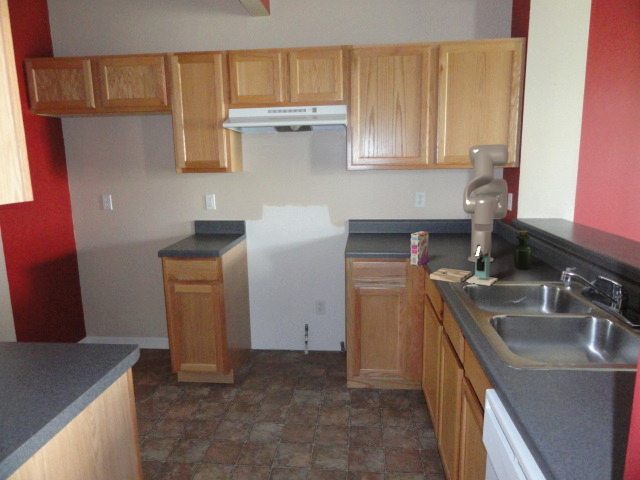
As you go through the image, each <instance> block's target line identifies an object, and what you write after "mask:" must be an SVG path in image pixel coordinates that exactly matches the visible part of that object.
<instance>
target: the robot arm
mask: <svg viewBox="0 0 640 480" xmlns="http://www.w3.org/2000/svg"><path fill="white" fill-rule="evenodd" d="M468 157H469V160H470V163H471V166H472V168H473V178H472V179H471V180H470V181H469V182H468V183H467V184H466V186H465V188H464V190H463V194H462V198H463V199H462V207H463V208H462V209H463V211H464V212H465V213H466V214H468V215H469V214H470V219H471V237H470V238H471V241H470V242H471V245H470V250H471V251H470V256H468V258H467V261H469V262H471V263H476V261H477V264H476V270H478V271H484V263H485V262H484V255H486V256H490V263H491V262H493V261H494V257H491V250H492V232H493V231H494V220H499V219H504V218H506V216H507V213H508V193H509V192H508V191H509V190H508V182H507V181H506V179H504V178H495V167H505V166H507V165H508V162H509V151H508V147H507V145H506V144H501V143H499V144H498V143H497V144H480V145H474V146H471V147H470V148H469V149H468ZM472 192H473V195H474V196H470V195H471V193H472ZM481 256H482V257H481ZM476 258H477V259H476Z"/></svg>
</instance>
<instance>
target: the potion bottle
mask: <svg viewBox="0 0 640 480" xmlns="http://www.w3.org/2000/svg"><path fill="white" fill-rule="evenodd" d="M528 232H529V231H528V230H518V234H519V235H516V238H515V239H517V240H518V244H516V245H514V247H513V250H512V251H513V265H514V268H515V269H516V270H522V271H524V270H525V271H526V270H529V269H530V265H531V258H532V250H533V249H532V247H531V246H530V245H528V244H527V242H528V240H530V239H531V238H530V236H529V235H528Z"/></svg>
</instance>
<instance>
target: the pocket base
mask: <svg viewBox="0 0 640 480" xmlns="http://www.w3.org/2000/svg"><path fill="white" fill-rule="evenodd" d="M472 275H473V273H472V271H468V270H461V269H455V268H454V269H451V268H443V267H441V268H439V269H437V270H436V271H434V272H432V273H430V274H429V279H430V280H437V281H444V282H449V283H450V282H451V283H457V282H459V283H458V284H461V283H463V282H464V281H467V280H468V279H469V278H471V277H473V276H472ZM462 281H463V282H462Z"/></svg>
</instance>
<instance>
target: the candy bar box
mask: <svg viewBox="0 0 640 480" xmlns="http://www.w3.org/2000/svg"><path fill="white" fill-rule="evenodd" d="M429 233H430V232H429V231H424V230H423V231H417V232H414V233H410V258H409V259H410V263H409V265H410V266H415V267H420V266H421V265H422V266H423V265H424V264H427V263H428V262H429V237H430V236H429V235H430V234H429Z"/></svg>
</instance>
